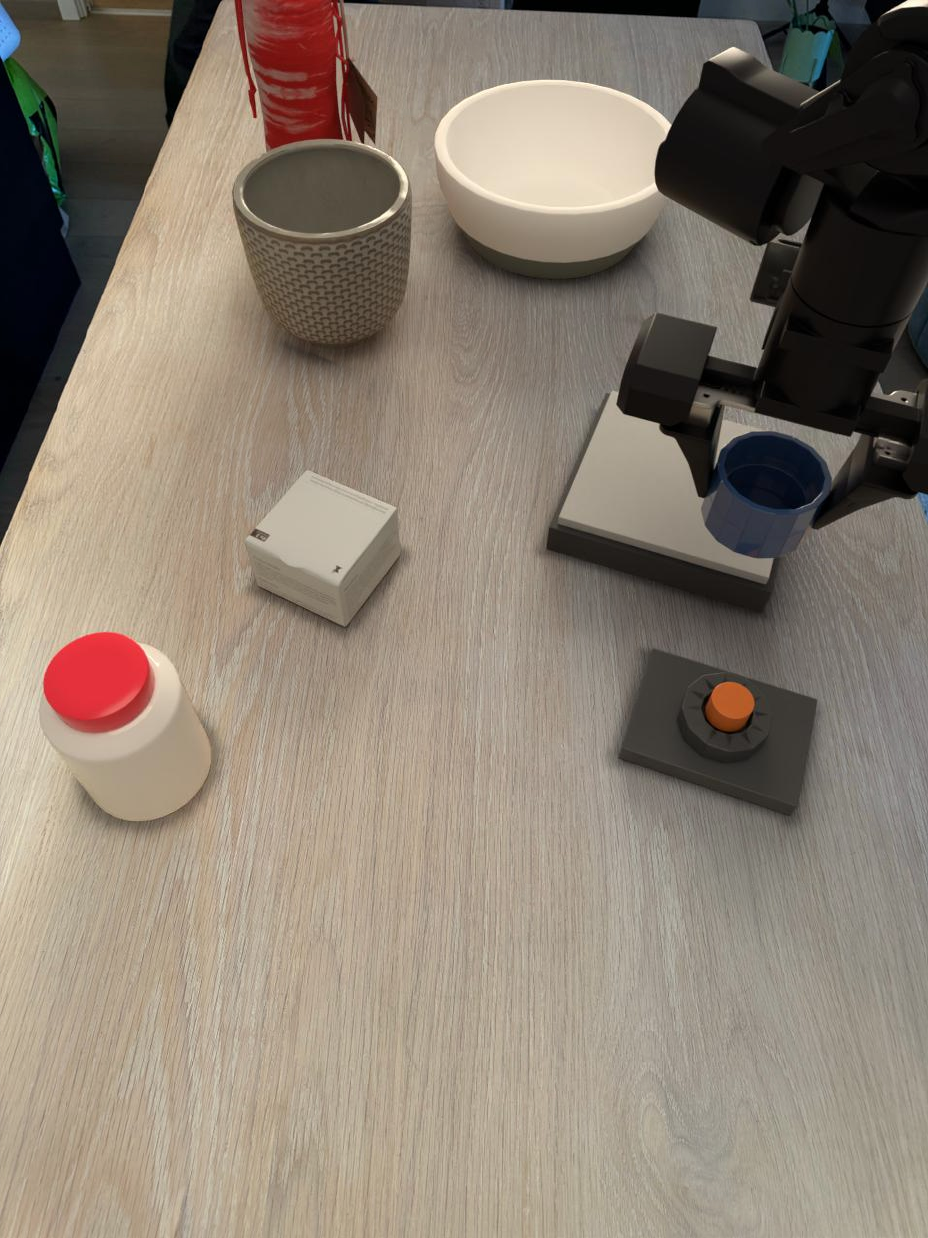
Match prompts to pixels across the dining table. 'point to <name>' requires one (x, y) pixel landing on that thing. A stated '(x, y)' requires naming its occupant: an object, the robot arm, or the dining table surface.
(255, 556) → the small box
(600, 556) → the scale
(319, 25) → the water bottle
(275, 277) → the planter
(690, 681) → the pad
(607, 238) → the bowl
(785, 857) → the dining table surface
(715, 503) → the small dish
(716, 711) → the button
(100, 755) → the pill bottle
